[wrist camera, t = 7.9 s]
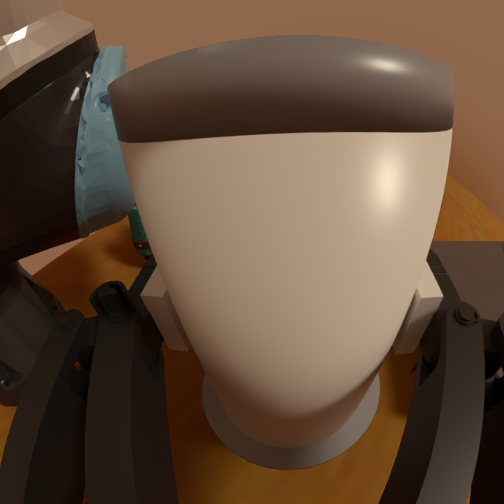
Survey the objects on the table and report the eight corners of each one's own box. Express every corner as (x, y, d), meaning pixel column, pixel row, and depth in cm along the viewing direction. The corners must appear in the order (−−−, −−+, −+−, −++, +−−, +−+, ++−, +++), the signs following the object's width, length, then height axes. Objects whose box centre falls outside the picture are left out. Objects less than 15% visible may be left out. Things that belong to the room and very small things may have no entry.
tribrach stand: (443, 422, 12) (479, 391, 9) (400, 274, 25) (410, 234, 22) (558, 372, 9) (585, 340, 7) (503, 268, 22) (516, 235, 19)
